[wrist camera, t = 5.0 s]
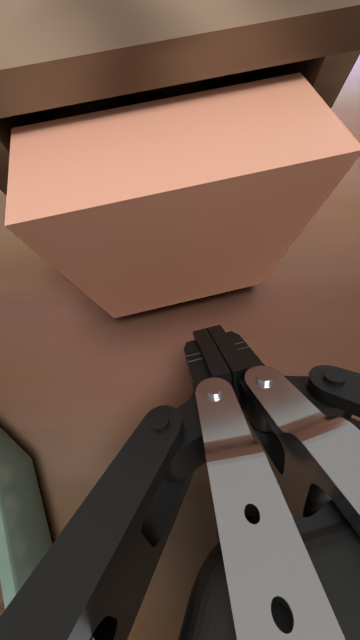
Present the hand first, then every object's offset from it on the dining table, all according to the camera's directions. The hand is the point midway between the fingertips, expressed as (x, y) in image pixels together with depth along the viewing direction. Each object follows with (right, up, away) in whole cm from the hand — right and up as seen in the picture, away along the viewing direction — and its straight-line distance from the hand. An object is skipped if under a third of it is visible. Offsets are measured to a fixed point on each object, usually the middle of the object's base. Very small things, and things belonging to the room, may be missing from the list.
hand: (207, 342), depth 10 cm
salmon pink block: (-2, +7, +6) cm, 9 cm away
